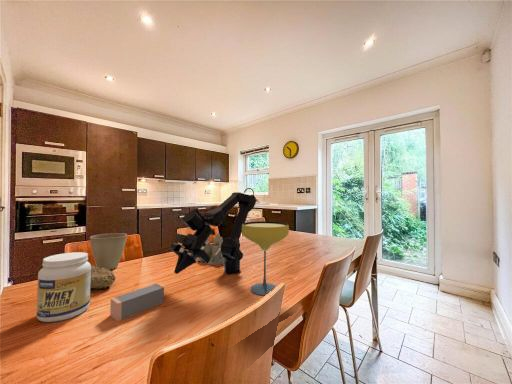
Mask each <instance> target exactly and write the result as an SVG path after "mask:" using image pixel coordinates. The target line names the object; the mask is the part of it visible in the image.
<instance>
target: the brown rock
mask: <svg viewBox="0 0 512 384" xmlns="http://www.w3.org/2000/svg"><path fill="white" fill-rule="evenodd" d="M115 281H116V275H115V273H114V272H112V270H108V269H105V268H100V267H97V265H91V280H90V289H105V288H107V287H110V286H112V285H113V284H114V282H115Z"/></svg>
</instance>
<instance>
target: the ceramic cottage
mask: <svg viewBox="0 0 512 384" xmlns="http://www.w3.org/2000/svg"><path fill="white" fill-rule="evenodd" d="M222 242H223V236H221V235H220V232H217V234H215V236H213V242H212V243H211V242H210V236H209V237H208V239H207V240H206V242H205V244H206V246H205V247H204V246H202V248H201V249H202V250H204V251H205V252H206V253H207V254H208V255H209V256H210V261H209V262H208V264H207V265H211V264H213V265H212V266H217V265H218V266H219V265H224V262H225V258H223V256H222V253H221V244H222ZM198 260H199V261H201V262H200V263H202V259H201V258H197V261H198ZM199 261H198V262H199Z"/></svg>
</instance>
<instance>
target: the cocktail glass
mask: <svg viewBox="0 0 512 384" xmlns="http://www.w3.org/2000/svg"><path fill="white" fill-rule="evenodd" d="M289 233H290V226H289V224H288V223H286V222H278V221H265V220H264V221H263V220H262V221H247V222H246V221H245V223H243V224H242V233H241V235H243V236H244V237H245V238H246V239H247V240H249V241H251V242H252V243H255V244H257V246H259V248H260V249H261V250H262V251H263V282H262V283H261V282H259V283H256V284H253V285H251V286H250V291H251V292H252V293H253V294H254V295H258V296H262V297H264V296H265V295H266V294H268V293H269V292H270V291H272V290H273V289H274V288H275V287H276V286H277V285H275V284H272V283H267V273H266V271H267V270H266V269H267V268H266V265H267V263H266V262H267V261H266V259H267V256H266V255H267V253H266V252H267V251H268V250H269V249H270V247H271V246H272V245H274V244H276V243H279V242H281V241H283V240H284V239H285V238H286V237H288V235H289Z"/></svg>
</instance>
